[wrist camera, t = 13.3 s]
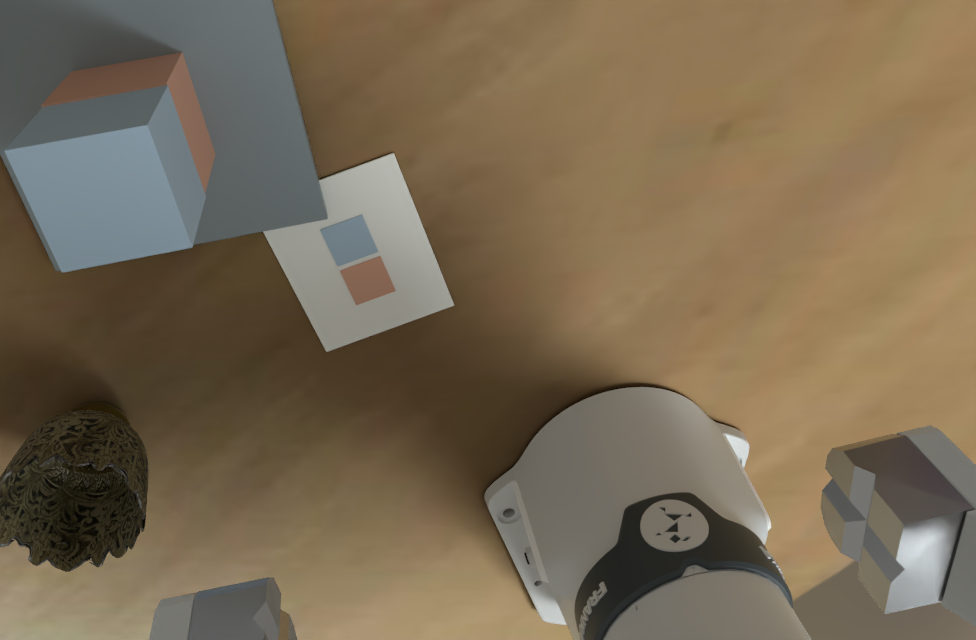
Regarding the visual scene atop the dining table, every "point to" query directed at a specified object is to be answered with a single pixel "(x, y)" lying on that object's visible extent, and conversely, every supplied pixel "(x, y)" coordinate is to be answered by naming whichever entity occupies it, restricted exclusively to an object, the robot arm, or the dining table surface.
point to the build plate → (216, 80)
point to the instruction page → (362, 257)
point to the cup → (76, 488)
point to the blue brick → (110, 178)
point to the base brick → (144, 77)
